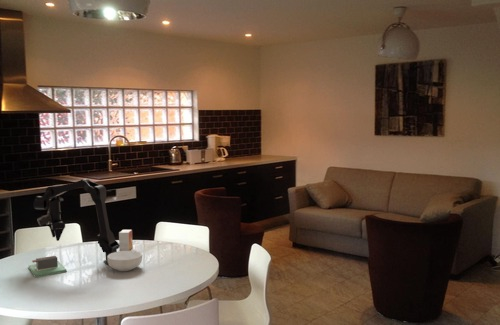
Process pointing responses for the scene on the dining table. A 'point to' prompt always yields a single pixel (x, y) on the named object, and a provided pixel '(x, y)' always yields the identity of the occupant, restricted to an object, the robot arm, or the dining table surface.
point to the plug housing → (46, 262)
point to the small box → (125, 240)
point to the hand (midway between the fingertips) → (55, 238)
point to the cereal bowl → (124, 260)
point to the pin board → (47, 270)
